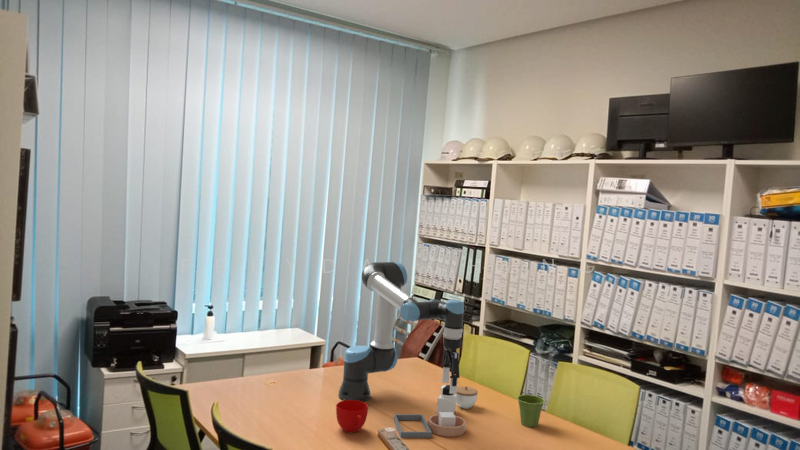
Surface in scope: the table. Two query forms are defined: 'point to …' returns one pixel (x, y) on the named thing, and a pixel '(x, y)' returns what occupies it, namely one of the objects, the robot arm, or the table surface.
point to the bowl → (447, 431)
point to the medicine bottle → (446, 400)
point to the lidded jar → (466, 397)
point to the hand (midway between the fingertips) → (449, 387)
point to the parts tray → (412, 434)
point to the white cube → (447, 419)
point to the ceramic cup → (351, 415)
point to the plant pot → (530, 409)
